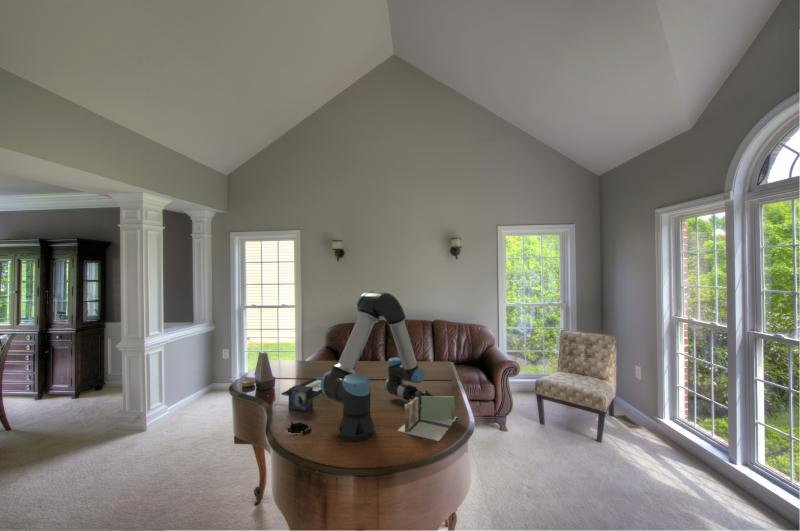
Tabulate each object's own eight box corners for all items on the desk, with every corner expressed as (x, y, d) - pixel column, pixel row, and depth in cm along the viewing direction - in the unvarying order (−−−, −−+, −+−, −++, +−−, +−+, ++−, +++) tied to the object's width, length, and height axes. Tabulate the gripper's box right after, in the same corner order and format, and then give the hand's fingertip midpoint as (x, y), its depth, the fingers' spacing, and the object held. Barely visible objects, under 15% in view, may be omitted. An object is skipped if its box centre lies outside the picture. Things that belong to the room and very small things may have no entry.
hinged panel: (421, 419, 149) (421, 397, 149) (421, 417, 151) (421, 395, 151) (454, 419, 148) (454, 397, 149) (454, 417, 150) (454, 396, 151)
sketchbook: (281, 395, 184) (281, 391, 184) (315, 379, 212) (315, 376, 212) (311, 401, 176) (311, 397, 176) (343, 383, 203) (343, 380, 203)
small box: (287, 410, 163) (287, 389, 163) (295, 405, 169) (295, 384, 170) (305, 412, 160) (306, 391, 160) (313, 407, 166) (313, 386, 167)
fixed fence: (408, 433, 138) (408, 401, 138) (403, 432, 139) (403, 400, 140) (422, 420, 151) (421, 390, 151) (416, 419, 152) (416, 389, 152)
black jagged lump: (283, 441, 134) (283, 428, 134) (279, 430, 143) (279, 419, 143) (312, 434, 140) (312, 422, 140) (307, 424, 149) (307, 413, 149)
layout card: (439, 441, 132) (439, 440, 132) (397, 431, 140) (397, 430, 140) (457, 417, 153) (457, 416, 153) (420, 410, 162) (420, 409, 162)
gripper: (416, 396, 173) (452, 409, 155) (398, 403, 164) (434, 418, 147) (416, 382, 173) (452, 394, 156) (398, 388, 164) (434, 401, 147)
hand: (443, 405), depth 151 cm, fingers closed
